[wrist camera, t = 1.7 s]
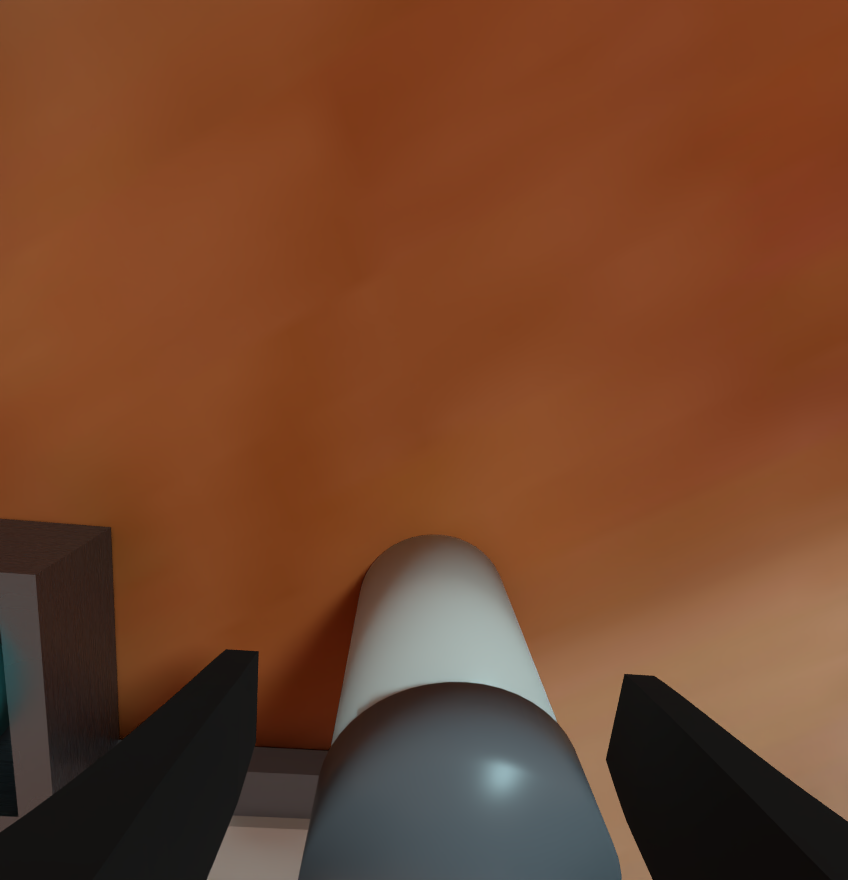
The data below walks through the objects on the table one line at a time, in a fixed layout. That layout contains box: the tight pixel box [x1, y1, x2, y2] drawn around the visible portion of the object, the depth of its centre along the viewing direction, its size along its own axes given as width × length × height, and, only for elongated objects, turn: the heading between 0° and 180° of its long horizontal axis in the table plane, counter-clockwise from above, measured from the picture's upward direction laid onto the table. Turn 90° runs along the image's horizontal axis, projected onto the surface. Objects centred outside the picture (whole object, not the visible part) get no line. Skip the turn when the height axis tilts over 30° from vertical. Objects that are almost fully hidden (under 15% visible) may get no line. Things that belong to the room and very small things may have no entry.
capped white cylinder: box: [298, 535, 621, 880], centre depth 9 cm, size 4×4×7 cm
